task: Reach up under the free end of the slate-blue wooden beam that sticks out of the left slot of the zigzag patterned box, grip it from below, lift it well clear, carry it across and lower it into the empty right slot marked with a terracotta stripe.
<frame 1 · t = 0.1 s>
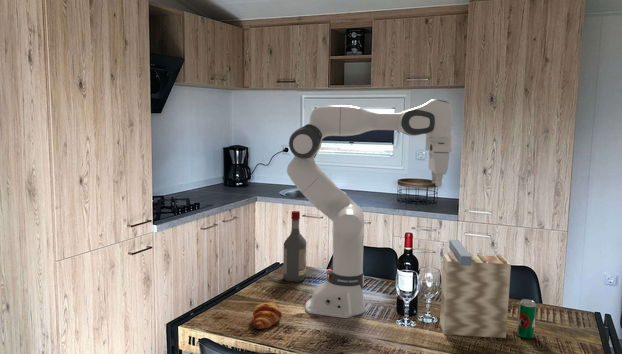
hand: (436, 184, 178), 48 cm above the table, tool pointing down, fingers open, 8 cm apart
zigzag patterned box: (471, 330, 170), on the table
beam: (459, 256, 170), point 25 cm above the table, touching zigzag patterned box
liquor: (294, 278, 221), on the table
soda can: (525, 336, 166), on the table
croissant: (267, 321, 175), on the table
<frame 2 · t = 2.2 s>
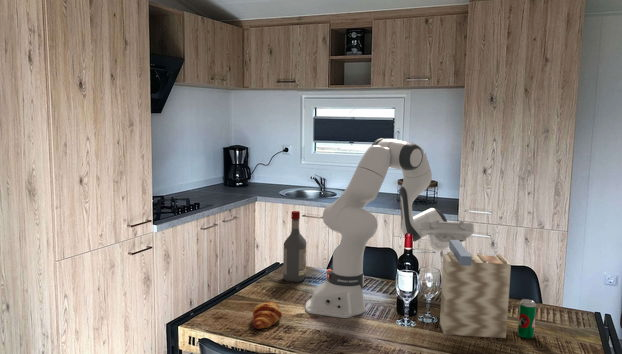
hand: (449, 222, 191), 32 cm above the table, tool pointing upward, fingers open, 8 cm apart
nothing on the table moved.
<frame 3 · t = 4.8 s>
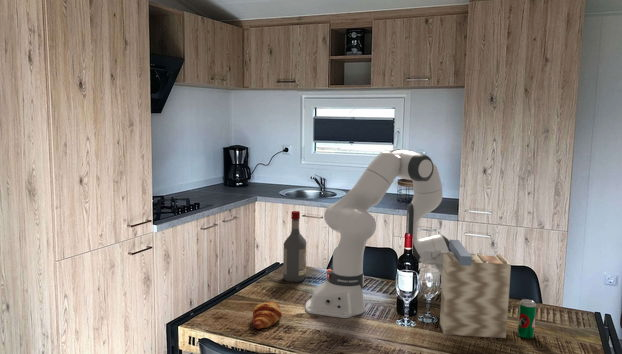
hand: (451, 253, 184), 22 cm above the table, tool pointing upward, fingers open, 8 cm apart
nothing on the table moved.
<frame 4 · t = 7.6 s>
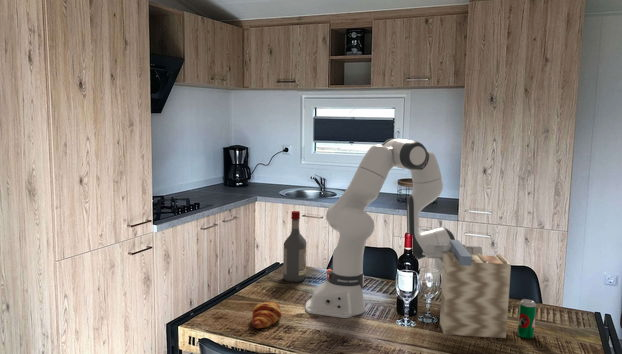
hand: (456, 246, 175), 27 cm above the table, tool pointing upward, fingers closed on beam, 3 cm apart
beam: (459, 256, 170), point 25 cm above the table, touching gripper, zigzag patterned box
everything else where it was.
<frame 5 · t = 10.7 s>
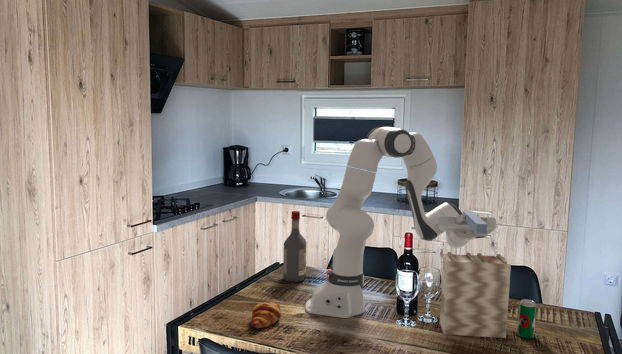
hand: (470, 216, 174), 38 cm above the table, tool pointing upward, fingers closed on beam, 3 cm apart
beam: (473, 225, 168), point 36 cm above the table, touching gripper
everything else where it was.
when the fingers open (27 cm above the table, at t = 14.3 s): beam stays where it is, resting on zigzag patterned box.
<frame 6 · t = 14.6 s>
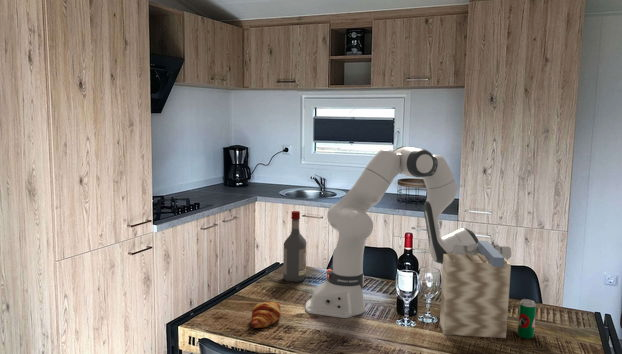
hand: (486, 246, 174), 27 cm above the table, tool pointing upward, fingers open, 6 cm apart
beam: (489, 257, 169), point 25 cm above the table, touching zigzag patterned box
everything else where it was.
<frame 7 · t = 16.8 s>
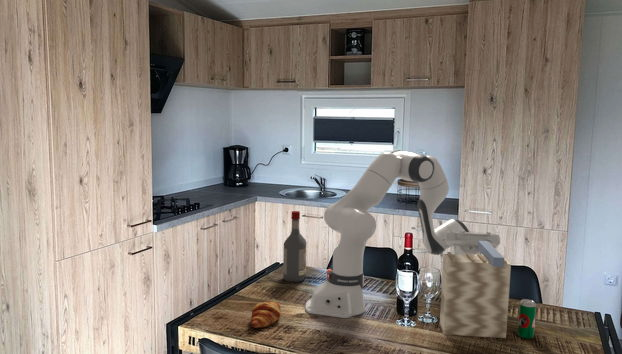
hand: (476, 233, 188), 29 cm above the table, tool pointing upward, fingers open, 8 cm apart
nothing on the table moved.
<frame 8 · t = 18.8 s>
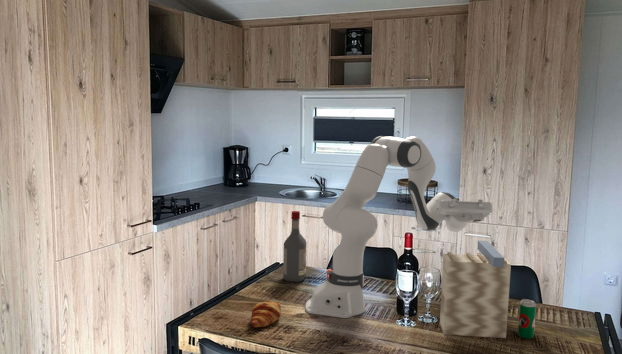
hand: (468, 200, 191), 40 cm above the table, tool pointing upward, fingers open, 8 cm apart
nothing on the table moved.
at the end: beam inside the target area (0.0 cm from its centre), point 25.1 cm above the table; beam tilted 0°; the gripper is holding nothing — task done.
